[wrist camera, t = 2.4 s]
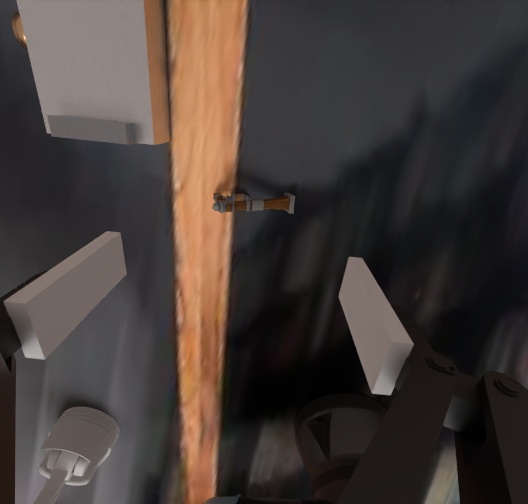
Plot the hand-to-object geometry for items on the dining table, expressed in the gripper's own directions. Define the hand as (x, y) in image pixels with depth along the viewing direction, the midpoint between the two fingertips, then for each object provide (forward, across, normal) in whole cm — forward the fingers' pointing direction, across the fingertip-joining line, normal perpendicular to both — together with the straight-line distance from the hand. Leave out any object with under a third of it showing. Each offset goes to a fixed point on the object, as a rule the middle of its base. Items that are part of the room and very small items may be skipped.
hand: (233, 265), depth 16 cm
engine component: (+14, +25, +43) cm, 52 cm away
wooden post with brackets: (+15, 0, 0) cm, 15 cm away
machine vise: (+14, +13, -13) cm, 24 cm away
